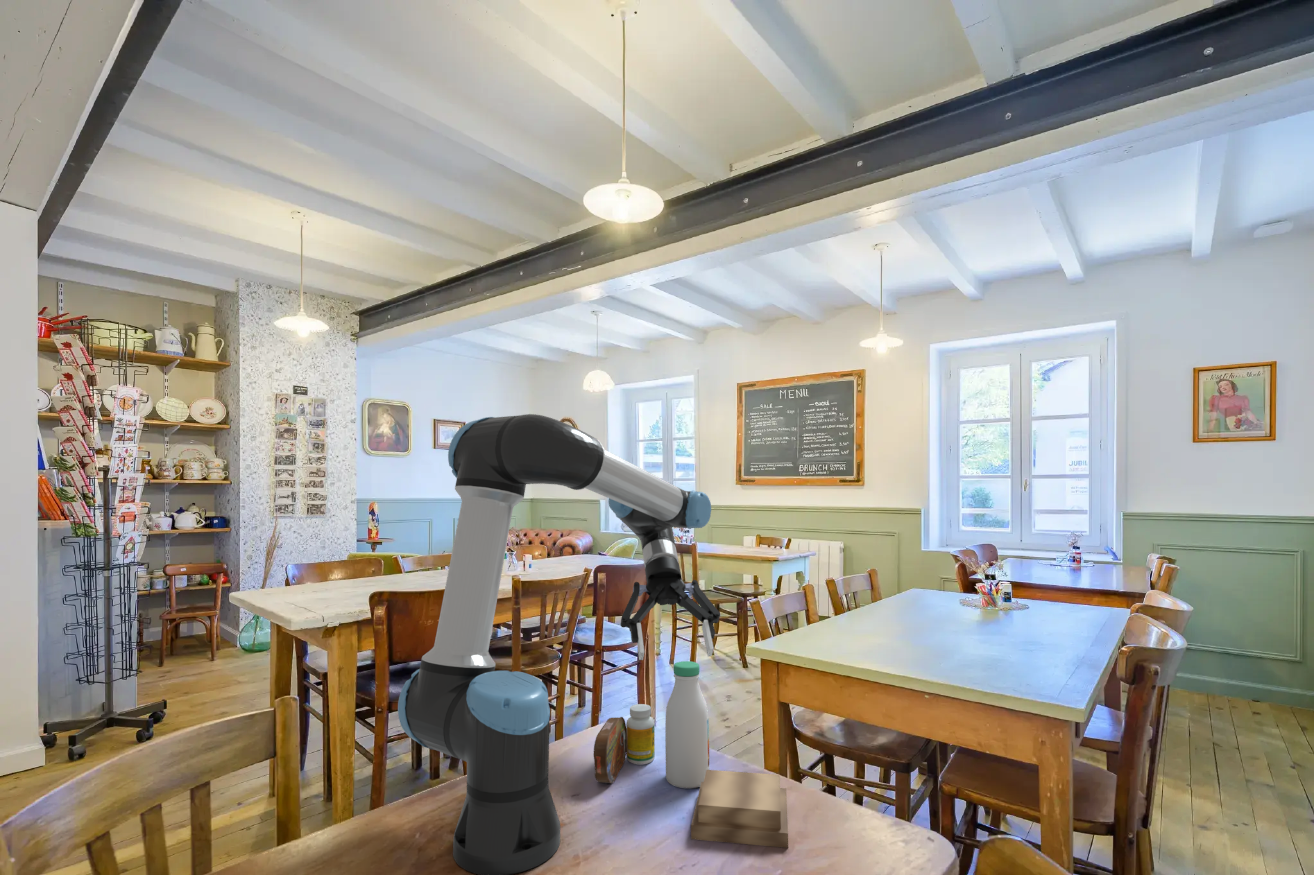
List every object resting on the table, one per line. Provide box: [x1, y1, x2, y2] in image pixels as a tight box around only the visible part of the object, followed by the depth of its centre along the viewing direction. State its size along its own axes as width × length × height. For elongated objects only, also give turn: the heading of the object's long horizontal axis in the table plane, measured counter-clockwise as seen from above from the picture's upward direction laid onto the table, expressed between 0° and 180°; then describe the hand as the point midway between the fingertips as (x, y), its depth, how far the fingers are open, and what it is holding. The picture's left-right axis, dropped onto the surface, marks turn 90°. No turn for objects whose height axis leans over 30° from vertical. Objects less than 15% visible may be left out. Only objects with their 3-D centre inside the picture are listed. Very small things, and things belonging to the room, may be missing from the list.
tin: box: [593, 716, 627, 784], centre depth 119 cm, size 15×3×8 cm, turn 169°
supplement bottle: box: [625, 703, 656, 765], centre depth 125 cm, size 5×5×10 cm
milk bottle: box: [664, 660, 710, 790], centre depth 116 cm, size 8×8×20 cm
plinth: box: [690, 769, 789, 849], centre depth 102 cm, size 14×14×4 cm
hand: (676, 654), depth 127 cm, fingers open, 13 cm apart
